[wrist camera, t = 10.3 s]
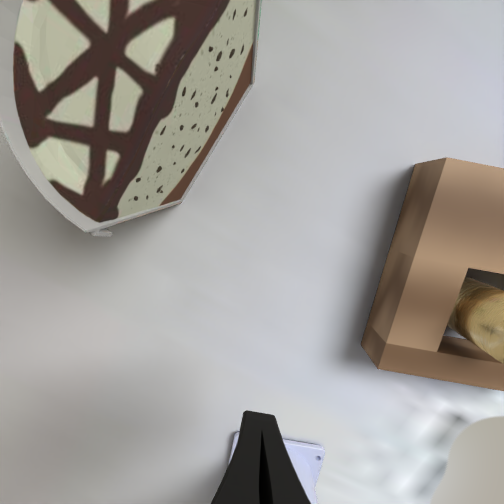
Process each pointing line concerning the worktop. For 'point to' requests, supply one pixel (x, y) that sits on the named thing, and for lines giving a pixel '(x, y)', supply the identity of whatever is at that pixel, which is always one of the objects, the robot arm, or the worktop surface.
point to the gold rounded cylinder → (480, 316)
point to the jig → (438, 273)
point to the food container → (121, 97)
